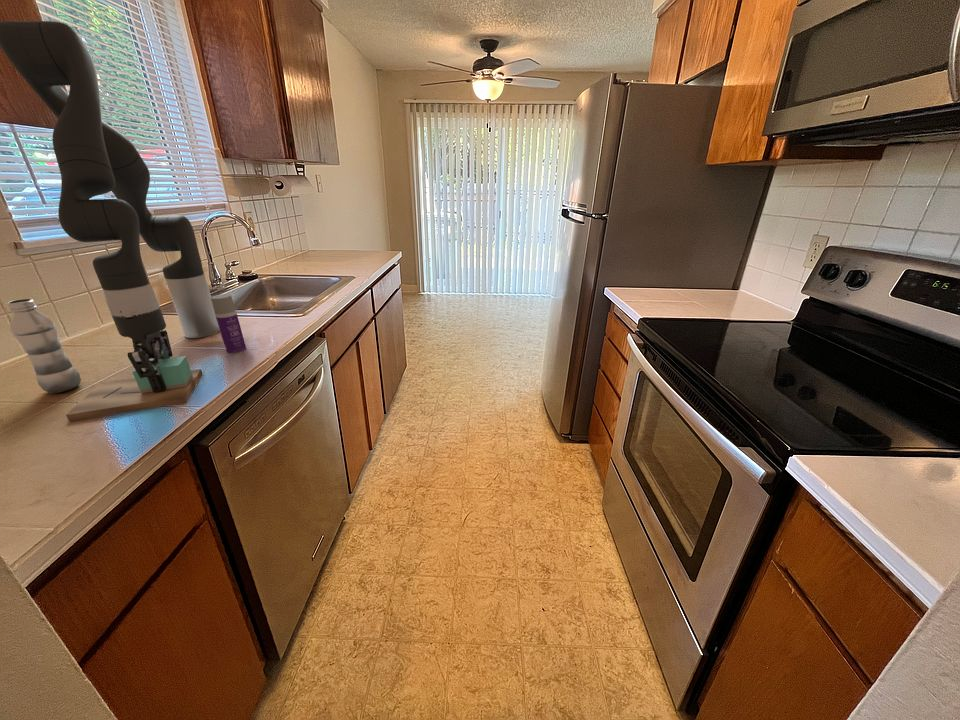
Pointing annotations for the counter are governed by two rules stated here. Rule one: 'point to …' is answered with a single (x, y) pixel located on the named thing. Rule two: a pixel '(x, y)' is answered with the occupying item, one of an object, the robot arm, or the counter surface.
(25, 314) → the plastic bottle
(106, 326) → the counter surface
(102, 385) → the oak board
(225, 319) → the container
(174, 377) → the block
